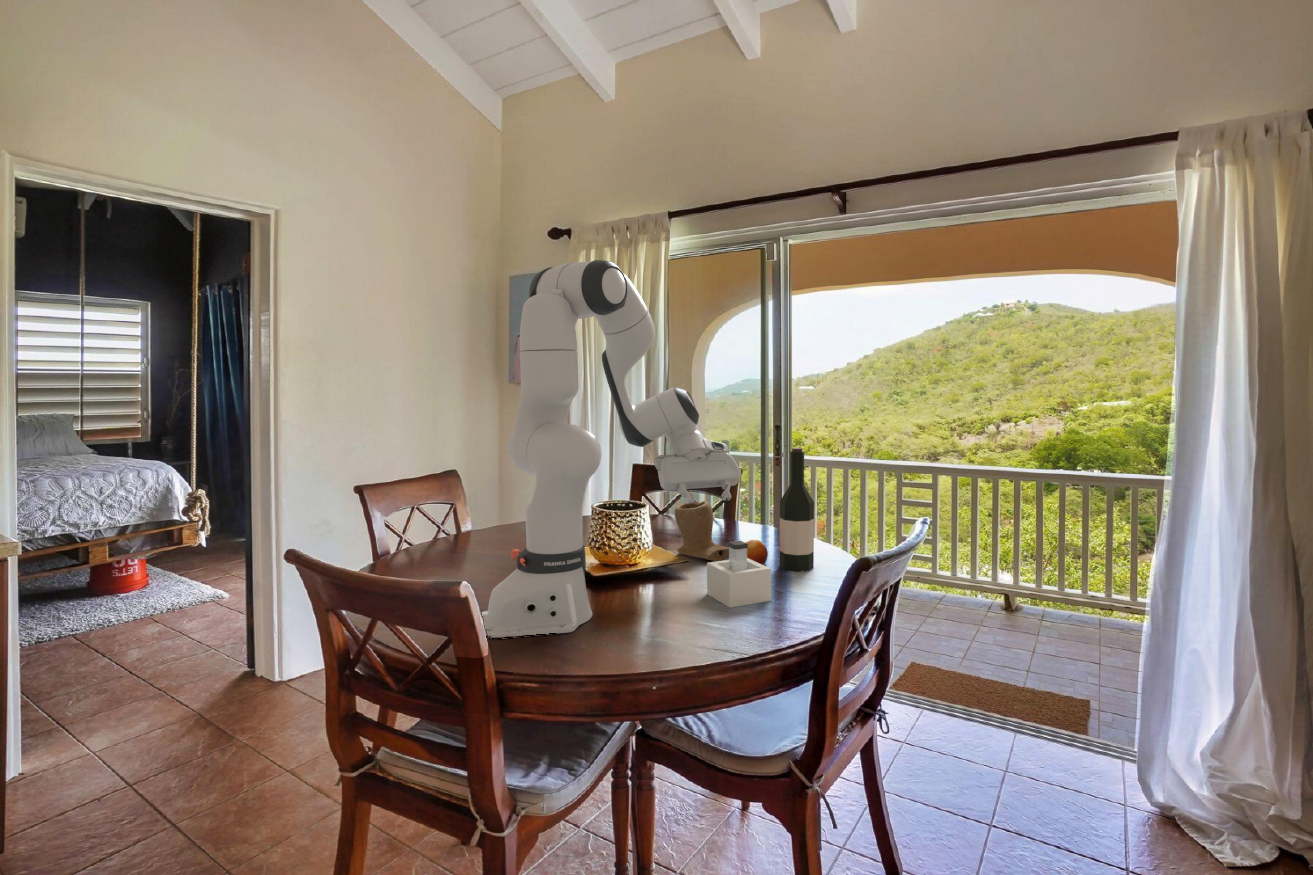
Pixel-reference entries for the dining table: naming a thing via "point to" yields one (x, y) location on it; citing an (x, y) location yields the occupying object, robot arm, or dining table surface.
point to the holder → (739, 583)
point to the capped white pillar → (737, 555)
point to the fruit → (757, 551)
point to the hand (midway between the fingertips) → (709, 500)
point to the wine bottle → (797, 520)
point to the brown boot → (698, 531)
